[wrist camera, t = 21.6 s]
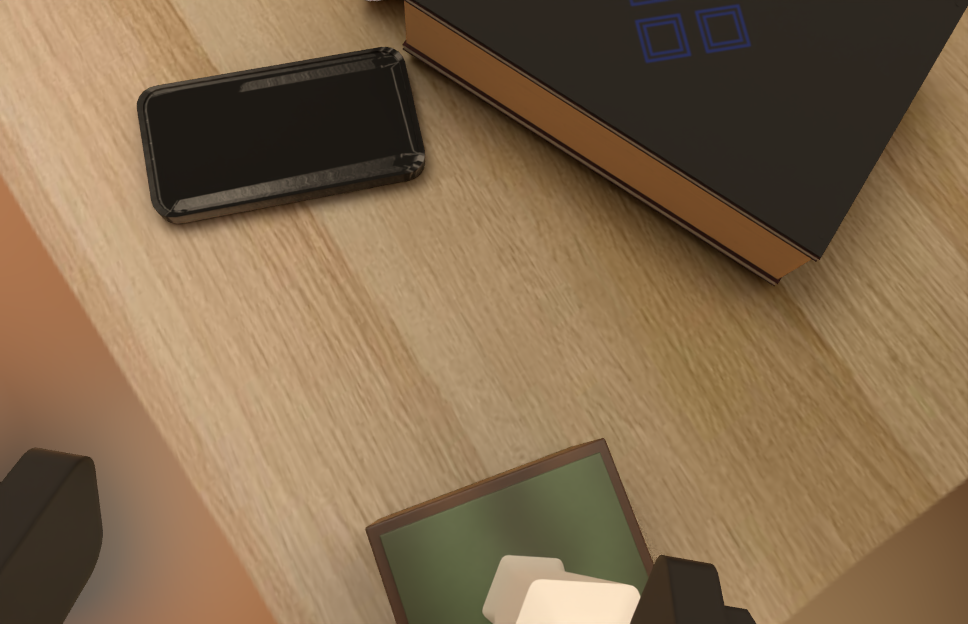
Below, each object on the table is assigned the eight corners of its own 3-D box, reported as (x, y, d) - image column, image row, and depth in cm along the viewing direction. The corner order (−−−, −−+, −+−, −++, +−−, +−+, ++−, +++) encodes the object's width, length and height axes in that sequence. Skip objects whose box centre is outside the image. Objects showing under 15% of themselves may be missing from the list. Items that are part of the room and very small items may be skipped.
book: (559, -150, 52) (578, -240, 46) (903, 60, 51) (972, -2, 44) (403, 56, 49) (399, -10, 42) (767, 289, 47) (821, 258, 41)
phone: (428, 169, 46) (154, 220, 45) (428, 176, 47) (160, 227, 46) (400, 41, 48) (133, 87, 46) (400, 51, 49) (140, 96, 47)
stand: (441, 712, 42) (444, 772, 33) (377, 519, 43) (363, 528, 35) (642, 629, 43) (696, 666, 34) (572, 446, 45) (606, 436, 36)
